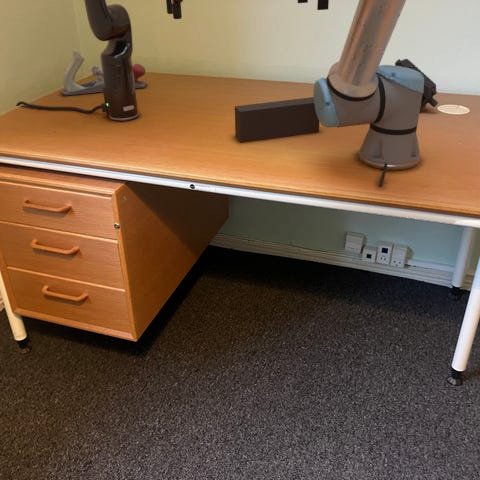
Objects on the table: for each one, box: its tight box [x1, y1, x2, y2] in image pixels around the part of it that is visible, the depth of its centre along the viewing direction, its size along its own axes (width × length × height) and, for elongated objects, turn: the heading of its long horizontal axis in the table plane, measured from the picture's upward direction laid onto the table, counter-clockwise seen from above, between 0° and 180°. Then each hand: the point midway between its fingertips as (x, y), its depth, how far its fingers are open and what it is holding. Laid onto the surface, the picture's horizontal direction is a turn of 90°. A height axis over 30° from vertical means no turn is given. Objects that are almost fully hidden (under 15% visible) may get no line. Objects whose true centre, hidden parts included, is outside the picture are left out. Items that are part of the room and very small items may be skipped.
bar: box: [234, 96, 320, 143], centre depth 153 cm, size 24×5×9 cm, turn 107°
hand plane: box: [61, 48, 146, 96], centre depth 194 cm, size 7×31×15 cm, turn 107°
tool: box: [394, 58, 439, 110], centre depth 172 cm, size 6×19×15 cm, turn 51°
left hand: (174, 16), depth 146 cm, fingers open, 8 cm apart
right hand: (312, 6), depth 141 cm, fingers open, 13 cm apart
